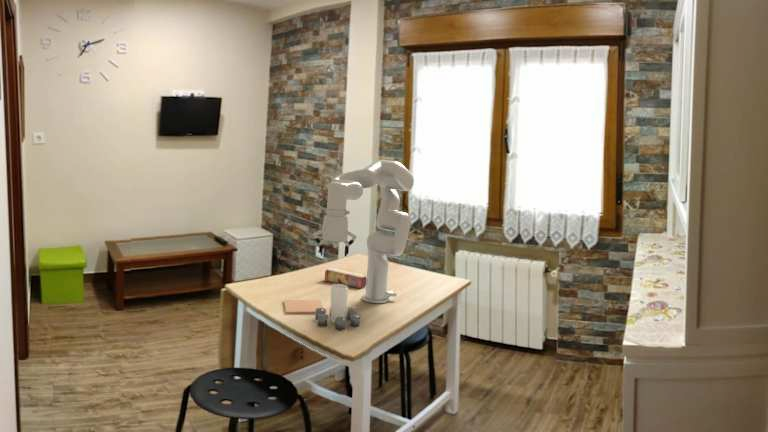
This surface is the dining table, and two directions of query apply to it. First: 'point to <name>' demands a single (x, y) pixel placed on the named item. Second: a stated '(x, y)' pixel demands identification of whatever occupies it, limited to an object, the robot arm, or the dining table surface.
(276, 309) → the dining table surface
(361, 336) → the dining table surface
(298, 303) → the terracotta tile
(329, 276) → the snack package
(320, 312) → the spacer posts
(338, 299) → the drinking glass
